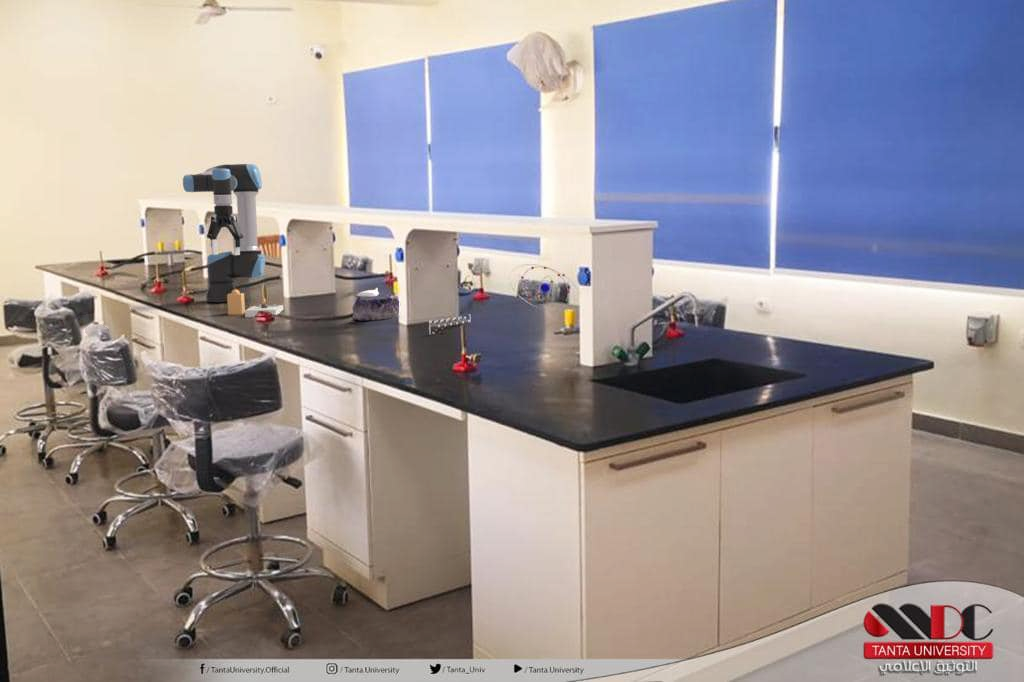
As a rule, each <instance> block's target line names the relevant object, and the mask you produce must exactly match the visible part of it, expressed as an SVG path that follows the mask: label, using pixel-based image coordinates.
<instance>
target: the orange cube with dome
mask: <svg viewBox="0 0 1024 682" xmlns="http://www.w3.org/2000/svg"><path fill="white" fill-rule="evenodd" d="M227 301H228V302H227V315H228V316H236V315H237V316H238V315H244V314H245V310H246V305H245V304H246V303H245V293H244V292H240V290H238V289H234V290H233V291H232V292H231V293H230V294H228V295H227Z"/></svg>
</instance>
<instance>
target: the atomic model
mask: <svg viewBox="0 0 1024 682" xmlns="http://www.w3.org/2000/svg"><path fill="white" fill-rule="evenodd" d="M522 266H523V267H524V264H520V265H518V266H516V267H514V268H513V269H512V270H511V271H510V273H509V277H508V278H509V283H510V287H511V288H512V290H513V291H514V292H515V293H516V295H517V296H518V297H520V299H522V300H523V301H525V302H526V303H527V304H530V306H533V307H535V308H537V305H533V304H532V303H530V302H529V301H527V300H526V299H524V298H523V297H521V295H520V294H518V293H517V291H516V290H515V288H514V287H513V285H512V282H511V276H512V275H511V274H512V273H513V271H514V270H516V269H517V268H519V267H522ZM525 266H531V268H529V269H527V270H526V271H525V272H524V273H523V275H521V277H520V279H521V286H522V289H523V292H524V294H525V295H526V297H527V299H529V300H530V301H532V298H531V296H529V295H528V293H526V290H525V288H524V285H523V284H524V283H523V279H524V277H525V275H526V273H528V272H529V270H534V268H536V269H537V267H541V268H543V270H550V271H552V272H554V273H555V274H557V276H558V277H560V278H561V279H562V280H563V282H564V284H565V285H566V289H567V291H566V293H567V296H566V300H565V302H567V301H568V299H569V294H570V290H569V287H568V284H567V283H566V281H565V279H564V278H563V277H565V278H566V279H567V280H569V277H567V276H566V274H565V273H561V272H559V271H558V270H556V269H553V268H550V267H548V266H544V265H541V264H537V266H535V264H532V263H528V264H525ZM547 277H549V278H550V279H551V280H550V283H551V284H550V285H549V284H548V283H545V282H543V281H544V279H546V278H547ZM542 282H543V283H542ZM570 282H571V283H572V284H573V286H574V287H575V289H576V290H577V292H578V294H580V291H579V290H578V287H577V286H576V285H575V283H573V281H572V280H570ZM553 283H554V280H553V278H552V277H551V276H550V275H546V276H544V277H543V279H542V280H541V282H540V284H539V285H538V291H537V293H536V295H537V297H538V299H539V300H541V301H543V300H545V299H546V298H547V297H548V296H549V294H550V293H551V290H552V287H553ZM540 290H541V292H543V293H547V295H546V297H544V298H540V296H539V295H540V292H539V291H540Z"/></svg>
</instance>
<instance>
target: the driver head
mask: <svg viewBox="0 0 1024 682" xmlns="http://www.w3.org/2000/svg"><path fill="white" fill-rule="evenodd" d="M378 289H379V288H378V287H375V289H368V290H363V291H361V292H358V293H357V295H356V297H360V298H361V297H363V298H368V297H369V298H370V297H377V296H378V295H380V293H379V291H378Z"/></svg>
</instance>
